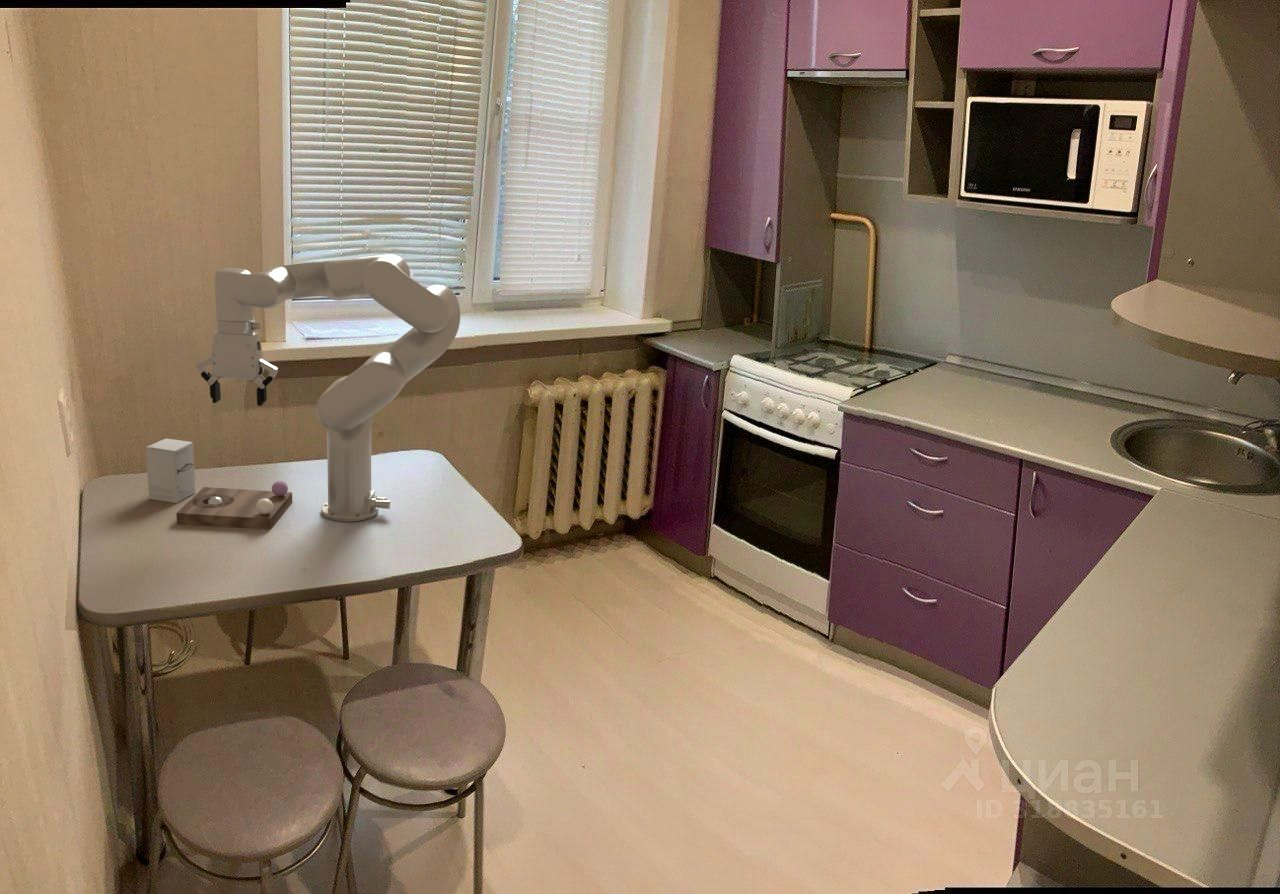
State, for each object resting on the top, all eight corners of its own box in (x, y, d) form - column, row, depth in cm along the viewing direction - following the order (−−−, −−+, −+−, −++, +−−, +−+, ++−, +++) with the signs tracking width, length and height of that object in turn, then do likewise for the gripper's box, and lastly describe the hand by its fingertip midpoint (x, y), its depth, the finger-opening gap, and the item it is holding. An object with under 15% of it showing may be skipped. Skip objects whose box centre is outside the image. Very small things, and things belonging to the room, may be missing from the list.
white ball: (275, 511, 228) (274, 496, 227) (270, 517, 225) (269, 502, 224) (259, 510, 228) (258, 495, 227) (254, 516, 225) (253, 501, 224)
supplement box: (177, 504, 234) (173, 451, 230) (147, 499, 236) (143, 446, 232) (197, 493, 241) (194, 441, 237) (168, 488, 242) (164, 437, 239)
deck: (292, 502, 240) (292, 492, 239) (270, 529, 225) (270, 518, 224) (204, 497, 239) (203, 486, 238) (177, 523, 224) (176, 513, 223)
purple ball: (290, 493, 239) (289, 479, 238) (285, 499, 235) (285, 484, 234) (274, 492, 238) (274, 478, 237) (269, 498, 235) (269, 483, 234)
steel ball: (211, 492, 232) (209, 506, 233) (205, 498, 229) (203, 512, 230) (227, 495, 233) (225, 509, 234) (221, 501, 229) (219, 515, 230)
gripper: (281, 326, 227) (283, 401, 233) (201, 320, 227) (205, 395, 232) (270, 333, 220) (273, 410, 226) (187, 327, 220) (192, 405, 225)
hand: (238, 402), depth 229 cm, fingers open, 9 cm apart
